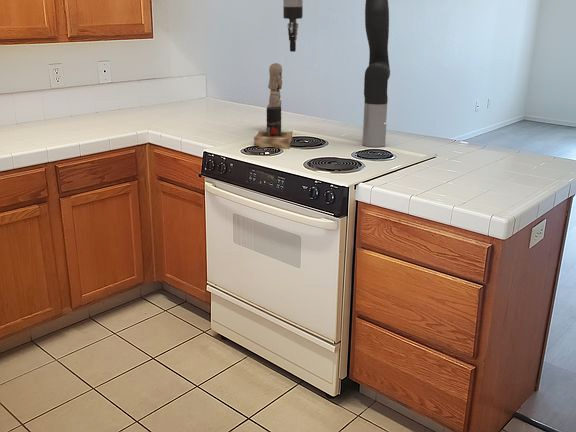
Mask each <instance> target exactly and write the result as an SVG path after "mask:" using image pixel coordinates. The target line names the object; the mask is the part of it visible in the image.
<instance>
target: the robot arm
mask: <svg viewBox="0 0 576 432" xmlns="http://www.w3.org/2000/svg"><path fill="white" fill-rule="evenodd" d="M303 3H304V1H303V0H283V6H282V7H283V13H282V14H283V15H282V17H283V19H287V20H289V23H287V34H288V41H289V51H290V52H292V53H293V52H294V53H295V52H296V48H297V43H296V42H297V38H298V37H297V36H298V30H299V29H298V28H299V23H297V20H298V19H300V20H301V19H303V7H304V6H303ZM364 5H365V8H364V23H365V34H366V39H367V42H368V49H369V58H368V59H369V61H368V66H367V67H366V69H365V71H364V77H363V78H364V81H363V85H364V87H363V97H364V105H363V123H362V124H363V127H362V141H361V142H362V145H363V146H366V147H370V148H371V147H372V148H379V147H386V141H387V140H386V138H387V137H386V136H387V115H388V113H387V112H388V102H389V101H388V99H389V97H388V83H389V78H390V75H391V68H390V60H389V50H388V48H389V47H388V46H389V36H390V35H389V34H390V33H389V32H390V12H389V11H390V8H389V7H390V6H389V0H365V4H364Z"/></svg>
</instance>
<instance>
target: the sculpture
mask: <svg viewBox="0 0 576 432" xmlns="http://www.w3.org/2000/svg"><path fill="white" fill-rule="evenodd" d="M268 72H269V82H268V86H267V88H268V89H269V90H270V93H269V94H270V95H269V100H268V105H267V106H266V108H267V107H281V108H282V100H280V99H281V92H280V90H281V89H282V86H283V80H282V79H283V68H282V65H281V64H280V63H272V64H271V65H269V70H268Z"/></svg>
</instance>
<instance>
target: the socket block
mask: <svg viewBox="0 0 576 432" xmlns="http://www.w3.org/2000/svg"><path fill="white" fill-rule="evenodd" d="M291 141H292V142H293V131H281V137H276V136H267V130H259V131H258V132H257V134H255V136H254V138H253V142H254V143H253V147H254V146H259V147H276V148H275V149H278V148H282V150H285V149H286V150H289V149H290V147H291V145H290V143H291ZM291 144H292V143H291ZM289 146H290V147H289Z"/></svg>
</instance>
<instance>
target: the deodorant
mask: <svg viewBox="0 0 576 432" xmlns="http://www.w3.org/2000/svg"><path fill="white" fill-rule="evenodd" d="M266 131H267V136H276V137H281V132H282V106H281V107H267V106H266Z"/></svg>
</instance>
